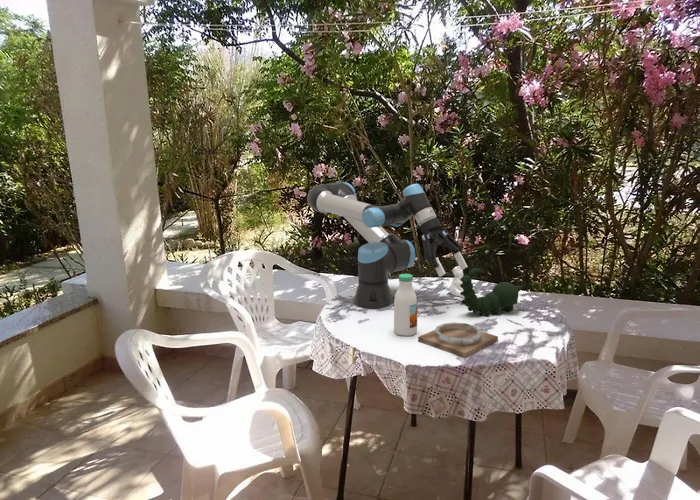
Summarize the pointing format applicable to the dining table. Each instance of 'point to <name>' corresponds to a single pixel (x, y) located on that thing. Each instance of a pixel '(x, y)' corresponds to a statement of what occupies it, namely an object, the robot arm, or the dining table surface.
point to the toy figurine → (488, 295)
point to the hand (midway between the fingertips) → (453, 271)
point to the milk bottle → (405, 307)
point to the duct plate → (455, 349)
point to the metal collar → (458, 341)
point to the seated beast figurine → (456, 282)
